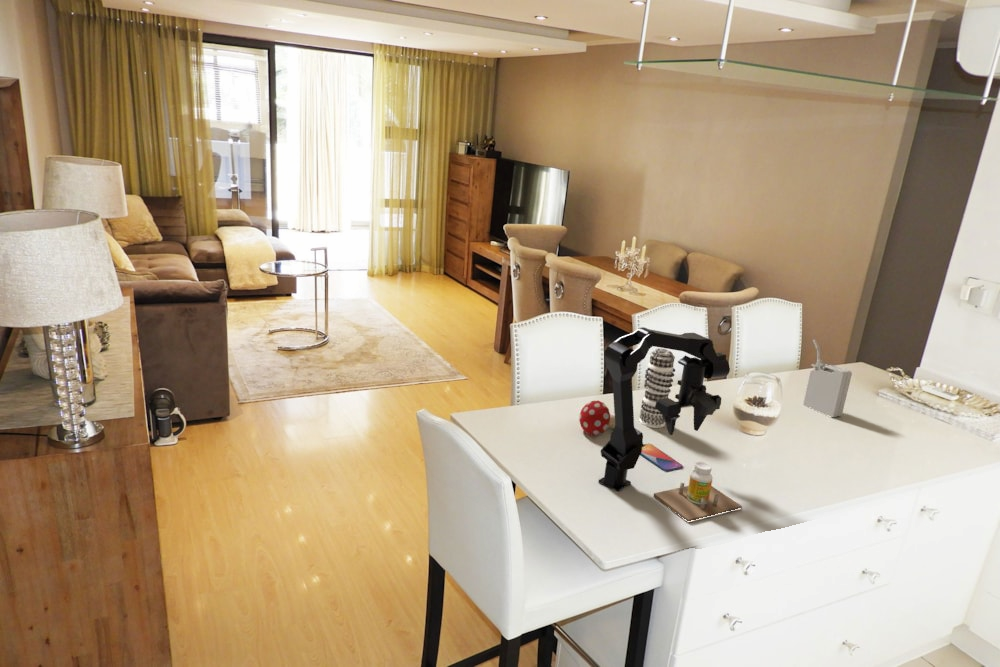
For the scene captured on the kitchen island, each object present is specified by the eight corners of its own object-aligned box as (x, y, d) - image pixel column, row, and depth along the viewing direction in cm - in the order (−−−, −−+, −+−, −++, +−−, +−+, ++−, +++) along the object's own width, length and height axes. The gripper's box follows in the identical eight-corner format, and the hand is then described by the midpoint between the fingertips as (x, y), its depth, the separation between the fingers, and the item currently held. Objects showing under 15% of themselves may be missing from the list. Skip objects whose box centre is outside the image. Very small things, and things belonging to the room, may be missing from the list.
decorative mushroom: (620, 398, 214) (591, 391, 204) (635, 427, 208) (606, 420, 198) (596, 418, 220) (567, 411, 209) (610, 446, 213) (580, 441, 203)
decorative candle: (669, 429, 215) (681, 356, 208) (640, 427, 215) (651, 354, 208) (663, 418, 224) (674, 347, 217) (635, 415, 224) (646, 345, 217)
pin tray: (687, 523, 162) (690, 508, 161) (653, 496, 173) (655, 483, 172) (741, 509, 170) (744, 495, 169) (705, 485, 181) (707, 472, 180)
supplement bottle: (693, 505, 168) (699, 471, 165) (682, 494, 173) (688, 461, 170) (712, 504, 169) (718, 470, 167) (700, 493, 174) (706, 460, 172)
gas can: (796, 402, 249) (810, 338, 242) (805, 400, 251) (820, 337, 244) (832, 418, 236) (848, 351, 229) (841, 416, 238) (857, 350, 231)
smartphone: (664, 473, 187) (664, 470, 186) (630, 449, 199) (631, 446, 199) (684, 469, 190) (684, 466, 190) (649, 446, 203) (650, 443, 202)
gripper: (686, 394, 169) (677, 449, 173) (739, 387, 177) (729, 440, 182) (658, 379, 178) (649, 432, 183) (709, 372, 187) (700, 423, 191)
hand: (683, 432), depth 184 cm, fingers open, 9 cm apart
